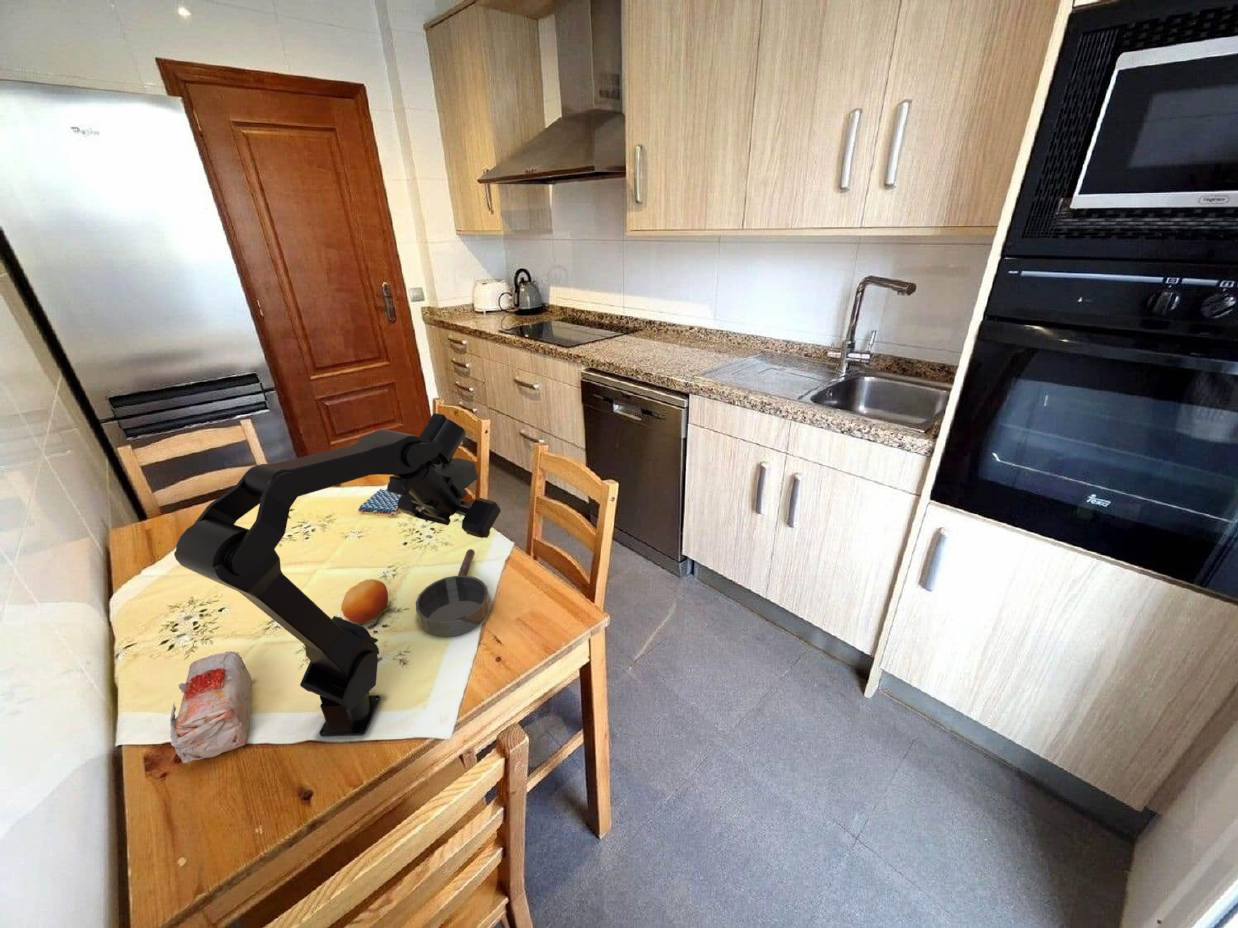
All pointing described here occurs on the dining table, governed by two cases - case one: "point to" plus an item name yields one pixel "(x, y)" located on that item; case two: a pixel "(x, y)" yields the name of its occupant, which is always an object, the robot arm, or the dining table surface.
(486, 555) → the dining table surface
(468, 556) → the pan handle
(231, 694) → the food item
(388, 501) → the woven mat
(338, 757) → the dining table surface
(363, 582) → the fruit
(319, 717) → the dining table surface
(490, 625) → the dining table surface
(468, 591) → the pan
